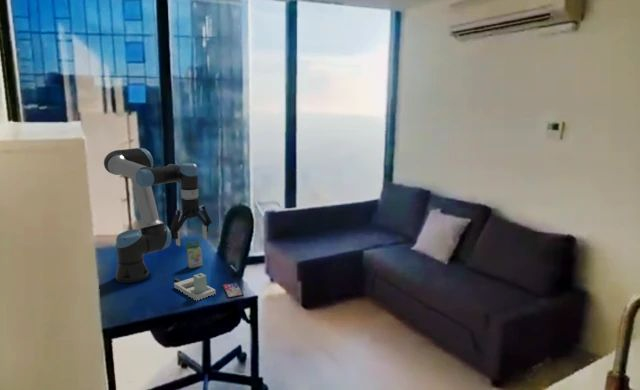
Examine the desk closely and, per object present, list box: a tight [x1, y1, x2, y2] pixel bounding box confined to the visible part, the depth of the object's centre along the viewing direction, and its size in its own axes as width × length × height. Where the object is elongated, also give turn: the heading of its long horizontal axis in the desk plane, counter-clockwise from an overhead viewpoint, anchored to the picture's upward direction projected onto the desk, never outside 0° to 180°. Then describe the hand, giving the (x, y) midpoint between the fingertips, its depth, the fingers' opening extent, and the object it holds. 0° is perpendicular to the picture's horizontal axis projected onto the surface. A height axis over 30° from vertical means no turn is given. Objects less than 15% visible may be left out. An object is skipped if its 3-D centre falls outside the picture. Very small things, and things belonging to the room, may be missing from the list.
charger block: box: [192, 272, 208, 295], centre depth 207 cm, size 4×4×9 cm
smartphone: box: [221, 282, 245, 299], centre depth 213 cm, size 8×1×15 cm
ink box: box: [186, 240, 204, 269], centre depth 240 cm, size 7×4×13 cm, turn 120°
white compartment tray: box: [173, 277, 217, 302], centre depth 215 cm, size 28×10×2 cm, turn 45°
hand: (191, 242), depth 210 cm, fingers open, 13 cm apart
